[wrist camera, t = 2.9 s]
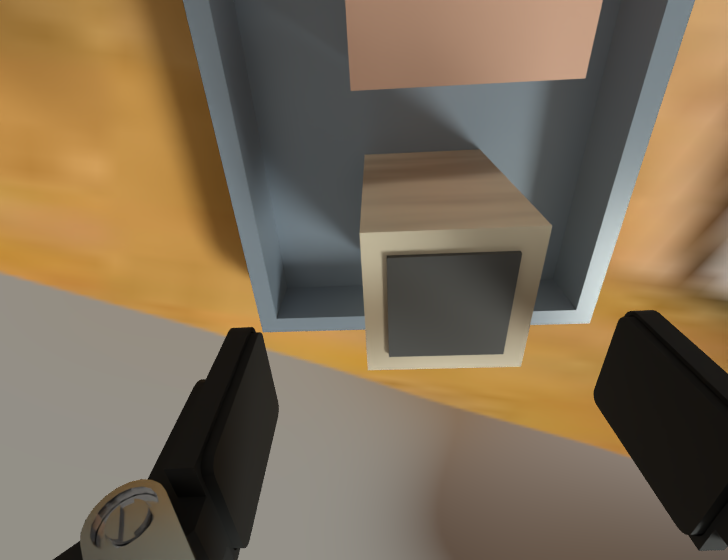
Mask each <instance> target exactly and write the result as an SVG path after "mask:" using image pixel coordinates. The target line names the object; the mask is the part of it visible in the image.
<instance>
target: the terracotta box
mask: <svg viewBox="0 0 728 560" xmlns="http://www.w3.org/2000/svg"><path fill="white" fill-rule="evenodd" d="M602 2H603V0H345V7H346V23H347V39H348V55H349V71H350V87H351V91H359V90H378V89H396V88H415V87H434V86H452V85H471V84H490V83H508V82H527V81H546V80H565V79H583V78H586V73H587V69H588V64H589V60H590V56H591V51H592V47H593V42H594V38H595V33H596V29H597V24H598V20H599V15H600V11H601V6H602Z"/></svg>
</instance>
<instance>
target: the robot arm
mask: <svg viewBox="0 0 728 560" xmlns="http://www.w3.org/2000/svg"><path fill="white" fill-rule="evenodd" d="M594 400H595V403H596V405H597V406H598V408H599V409H600V411H601V412H602V414H603V415H604V417H605V418H606V420H607V421H608V423H609V424H610V426H611V427H612V429H613V430H614V432H615V434H616V435H617V437H618V438H619V440H620V441H621V443H622V444H623V446H624V447H625V449H626V450H627V452H628V453H629V455H630V456H631V458H632V459H633V461H634V462H635V464H636V465H637V467H638V468H639V470H640V471H641V473H642V474H643V476H644V477H645V479H646V480H647V482H648V483H649V485H650V487H651V488H652V490H653V491H654V493H655V494H656V496H657V497H658V499H659V500H660V502H661V503H662V505H663V506H664V508H665V509H666V511H667V512H668V514H669V515H670V517H671V518H672V520H673V521H674V523H675V524H676V526H677V527H678V528H679V530H681V531H682V532H683V533H684V534H687V535H689V537H690V538H691V540H692V541H693V543H694V544H695V546H696V547H697V548H698V550H699V551H702V550H703V551H707V550H725V549H726V547H727V546H728V374H727V373H726V372H725V371H724V370H723V369H722V368H721V367H720V366H718V365H717V364H716V363H715V362H714V361H713V360H712V359H711V358H709V357H708V356H707V355H706V354H705V353H704V352H703V351H701V350H700V349H699V348H698V347H697V346H696V345H695V344H694V343H692V342H691V341H690V340H689V339H688V338H687V337H686V336H685V335H683V334H682V333H681V332H680V331H679V330H678V329H677V328H676V327H674V326H673V325H672V324H671V323H670V322H669V321H668V320H666V319H665V318H664V317H663V316H662V315H661V314H660V313H658V312H657V311H654V310H645V311H630V312H627V313H626V314H625V316H624V317H622V318H620V319H619V321H618V323H617V326H616V329H615V332H614V335H613V337H612V340H611V343H610V346H609V349H608V352H607V355H606V357H605V360H604V363H603V366H602V369H601V372H600V375H599V377H598V380H597V383H596V386H595V389H594ZM278 412H279V405H278V400H277V395H276V391H275V387H274V382H273V378H272V374H271V369H270V365H269V361H268V356H267V352H266V348H265V343H264V339H263V335H262V333H260V332H257V333H256V331H255V329H254V328H253V327H246V328H231V329H230V330H229V332H228V334H227V336H226V338H225V340H224V343H223V344H222V347H221V349H220V351H219V353H218V355H217V357H216V359H215V361H214V363H213V366H212V368H211V370H210V372H209V374H208V376H207V378H206V379H205V380H204V379H203V380H199V381H198V382H197V383H196V385H195V386H194V388H193V390H192V392H191V394H190V396H189V398H188V400H187V402H186V404H185V406H184V408H183V410H182V412H181V414H180V416H179V418H178V420H177V422H176V424H175V426H174V428H173V430H172V432H171V434H170V436H169V438H168V440H167V442H166V444H165V446H164V448H163V450H162V452H161V454H160V456H159V458H158V460H157V462H156V464H155V466H154V468H153V470H152V472H151V474H150V476H149V478H148V480H146V479H141V480H137V481H132V482H129V483H127V484H124V485H122V486H120V487H118V488H116V489H115V490H114V491H112V492H111V493H109V494H108V495H106V496H105V497H104V498H103V499H102V500H101V501H100V502H99V503H98V504H97V505H96V506H95V507H94V508H93V510H92V511H91V513H90V514H89V516H88V517H87V519H86V520H85V523H84V525H83V528H82V531H81V535H80V541H79V542H78V543H76V544H75V545H73V546H72V547H70V548H69V549H68V550H66V551H65V552H63V553H62V554H61V555H59V556H57V557H56V558H55V559H53V560H237V559H238V555H239V551H240V548H246V547H247V545H248V543H249V540H250V536H251V531H252V527H253V523H254V519H255V514H256V510H257V505H258V501H259V496H260V492H261V488H262V483H263V479H264V475H265V471H266V466H267V462H268V458H269V453H270V449H271V444H272V440H273V436H274V432H275V427H276V423H277V418H278Z"/></svg>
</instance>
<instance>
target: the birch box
mask: <svg viewBox="0 0 728 560" xmlns="http://www.w3.org/2000/svg"><path fill="white" fill-rule="evenodd" d="M551 230H552V225H551V224H550V223H549V222H548V221H547V220H546V218H545V217H544V216H543V215H542V214H541V213H540V212H539V211H538V210H537V209H536V208H535V207H534V206H533V205H532V204H531V203H530V202H529V201H528V199H527V198H526V197H525V196H524V195H523V194H522V193H521V192H520V191H519V190H518V189H517V188H516V187H515V186H514V185H513V184H512V183H511V182H510V181H509V179H508V178H507V177H506V176H505V175H504V174H503V173H502V172H501V171H500V170H499V169H498V168H497V167H496V166H495V165H494V164H493V163H492V162H491V160H490V159H489V158H488V157H487V156H486V155H485V154H484V153H483V152H482V151H481V150H480V149H478V150H456V151H434V152H413V153H391V154H370V155H365V157H364V172H363V187H362V203H361V218H360V249H361V265H362V281H363V298H364V314H365V330H366V346H367V362H368V370H392V369H436V368H479V367H521V363H522V359H523V355H524V350H525V346H526V341H527V337H528V332H529V328H530V323H531V319H532V314H533V310H534V305H535V301H536V297H537V292H538V288H539V283H540V279H541V274H542V270H543V265H544V261H545V256H546V252H547V247H548V243H549V238H550V234H551Z"/></svg>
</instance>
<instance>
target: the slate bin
mask: <svg viewBox="0 0 728 560" xmlns="http://www.w3.org/2000/svg"><path fill="white" fill-rule="evenodd" d="M694 2H695V0H603V2H602V6H601V11H600V15H599V20H598V24H597V29H596V33H595V38H594V42H593V47H592V51H591V56H590V60H589V64H588V69H587V73H586V78H583V79H565V80H546V81H527V82H508V83H490V84H471V85H452V86H434V87H415V88H396V89H378V90H359V91H351V87H350V71H349V55H348V39H347V23H346V7H345V0H183V3H184V7H185V12H186V16H187V20H188V24H189V28H190V32H191V36H192V40H193V45H194V49H195V53H196V57H197V61H198V65H199V69H200V74H201V78H202V82H203V86H204V90H205V94H206V98H207V102H208V107H209V111H210V115H211V119H212V123H213V127H214V131H215V136H216V140H217V144H218V148H219V152H220V156H221V160H222V164H223V169H224V173H225V177H226V181H227V185H228V189H229V193H230V198H231V202H232V206H233V210H234V214H235V218H236V222H237V226H238V231H239V235H240V239H241V243H242V247H243V251H244V255H245V260H246V264H247V268H248V272H249V276H250V280H251V284H252V288H253V293H254V297H255V301H256V305H257V309H258V313H259V317H260V322H261V326H262V330H263V332H289V331H326V330H362V329H365V314H364V298H363V281H362V265H361V249H360V218H361V203H362V187H363V172H364V157H365V155H370V154H391V153H413V152H434V151H456V150H478V149H480V150H481V151H482V152H483V153H484V154H485V155H486V156H487V157H488V158H489V159H490V160H491V162H492V163H493V164H494V165H495V166H496V167H497V168H498V169H499V170H500V171H501V172H502V173H503V174H504V175H505V176H506V177H507V178H508V179H509V181H510V182H511V183H512V184H513V185H514V186H515V187H516V188H517V189H518V190H519V191H520V192H521V193H522V194H523V195H524V196H525V197H526V198H527V199H528V201H529V202H530V203H531V204H532V205H533V206H534V207H535V208H536V209H537V210H538V211H539V212H540V213H541V214H542V215H543V216H544V217H545V218H546V220H547V221H548V222H549V223H550V224H551V225H552V230H551V234H550V238H549V243H548V247H547V252H546V256H545V261H544V265H543V270H542V274H541V279H540V283H539V288H538V292H537V297H536V301H535V305H534V310H533V314H532V319H531V323H530V325H544V324H580V323H590V320H591V317H592V314H593V311H594V308H595V305H596V302H597V299H598V296H599V293H600V290H601V287H602V284H603V281H604V278H605V274H606V271H607V268H608V265H609V262H610V259H611V256H612V253H613V250H614V247H615V244H616V241H617V238H618V235H619V232H620V228H621V225H622V222H623V219H624V216H625V213H626V210H627V207H628V204H629V201H630V198H631V195H632V192H633V189H634V186H635V183H636V179H637V176H638V173H639V170H640V167H641V164H642V161H643V158H644V155H645V152H646V149H647V146H648V143H649V140H650V137H651V133H652V130H653V127H654V124H655V121H656V118H657V115H658V112H659V109H660V106H661V103H662V100H663V97H664V94H665V91H666V87H667V84H668V81H669V78H670V75H671V72H672V69H673V66H674V63H675V60H676V57H677V54H678V51H679V48H680V45H681V42H682V38H683V35H684V32H685V29H686V26H687V23H688V20H689V17H690V14H691V11H692V8H693V5H694Z"/></svg>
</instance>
